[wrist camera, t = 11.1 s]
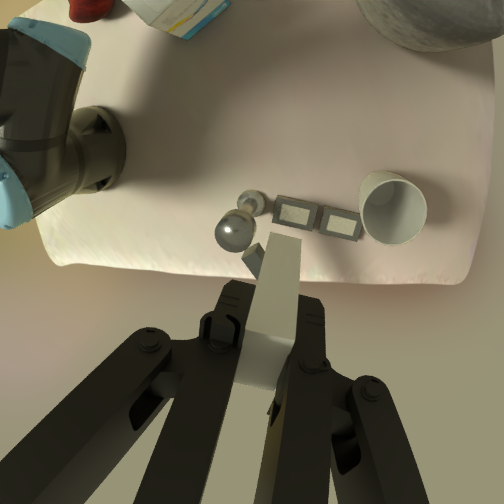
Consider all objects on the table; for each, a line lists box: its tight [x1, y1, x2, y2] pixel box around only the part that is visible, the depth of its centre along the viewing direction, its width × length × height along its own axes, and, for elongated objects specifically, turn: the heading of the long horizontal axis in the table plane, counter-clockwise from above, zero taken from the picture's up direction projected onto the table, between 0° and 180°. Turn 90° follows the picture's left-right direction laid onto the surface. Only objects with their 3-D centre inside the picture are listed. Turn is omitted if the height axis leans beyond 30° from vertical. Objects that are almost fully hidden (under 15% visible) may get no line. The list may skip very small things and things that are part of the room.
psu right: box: [318, 206, 363, 242], centre depth 43 cm, size 6×4×1 cm, turn 82°
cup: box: [358, 171, 427, 246], centre depth 36 cm, size 8×8×10 cm
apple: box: [68, 0, 114, 23], centre depth 29 cm, size 7×8×8 cm
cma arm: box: [215, 209, 265, 281], centre depth 39 cm, size 20×4×3 cm, turn 34°
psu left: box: [272, 195, 318, 231], centre depth 44 cm, size 6×4×1 cm, turn 82°
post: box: [237, 190, 265, 217], centre depth 42 cm, size 4×4×8 cm
